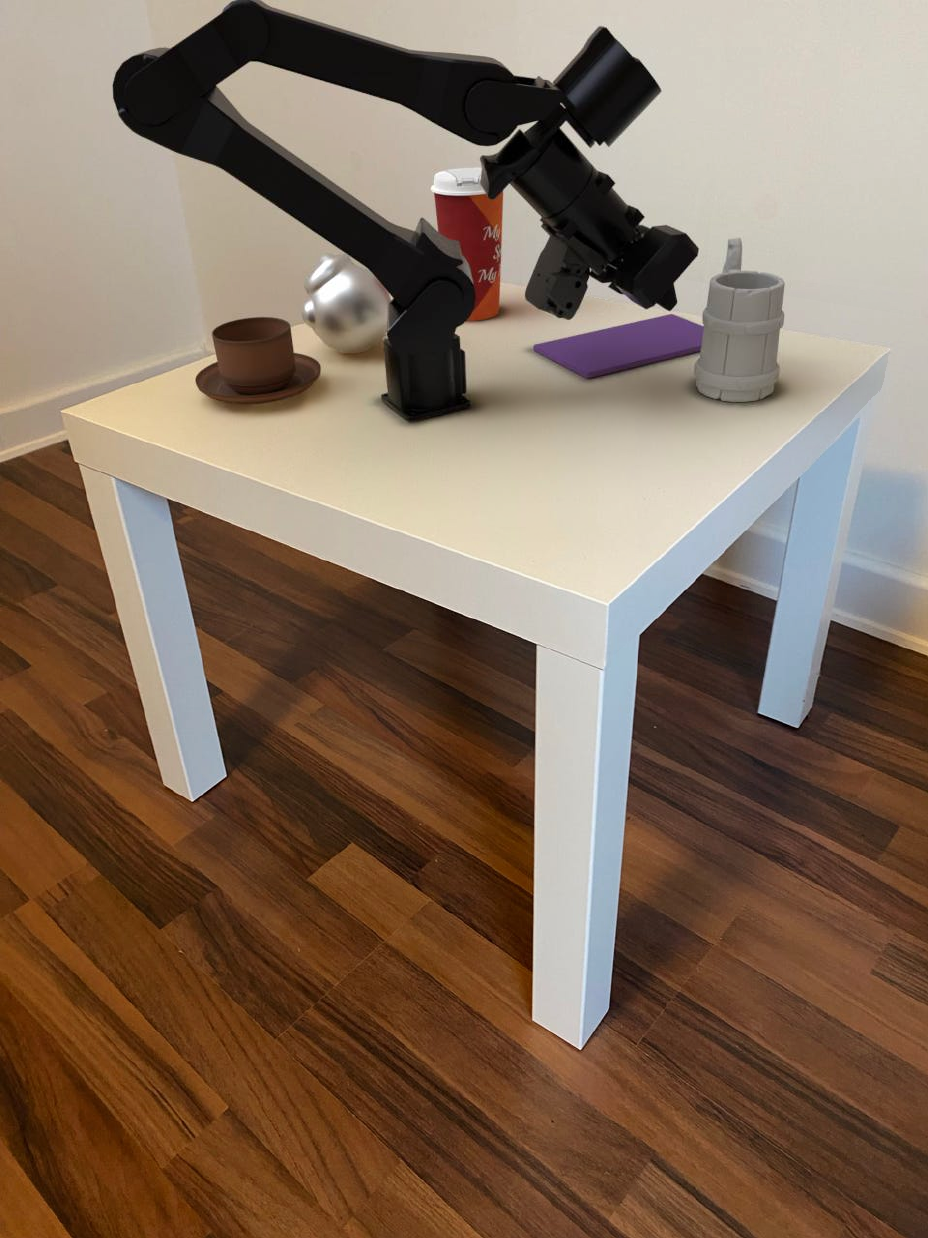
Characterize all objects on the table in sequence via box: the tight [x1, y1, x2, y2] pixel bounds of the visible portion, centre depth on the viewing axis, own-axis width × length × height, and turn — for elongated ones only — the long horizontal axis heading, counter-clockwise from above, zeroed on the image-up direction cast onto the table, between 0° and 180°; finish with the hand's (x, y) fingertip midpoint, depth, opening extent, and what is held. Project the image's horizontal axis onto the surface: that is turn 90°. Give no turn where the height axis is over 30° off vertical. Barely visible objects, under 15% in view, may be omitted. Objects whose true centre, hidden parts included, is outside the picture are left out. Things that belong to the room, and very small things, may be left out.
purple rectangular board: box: [533, 313, 704, 380], centre depth 101 cm, size 18×10×1 cm, turn 118°
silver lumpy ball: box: [301, 253, 392, 354], centre depth 101 cm, size 9×10×10 cm
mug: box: [693, 237, 786, 403], centre depth 89 cm, size 8×12×12 cm, turn 0°
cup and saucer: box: [194, 316, 322, 406], centre depth 94 cm, size 12×12×6 cm
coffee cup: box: [430, 167, 504, 322], centre depth 109 cm, size 8×8×15 cm
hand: (672, 306), depth 90 cm, fingers closed
